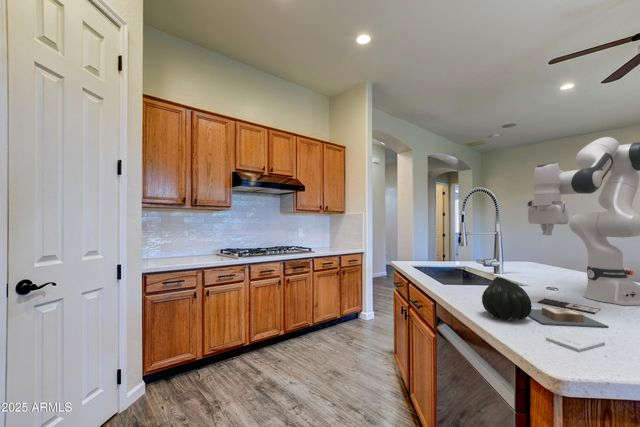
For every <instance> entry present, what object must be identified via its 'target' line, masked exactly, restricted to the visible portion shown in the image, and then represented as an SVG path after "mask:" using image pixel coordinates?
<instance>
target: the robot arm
mask: <svg viewBox="0 0 640 427" xmlns="http://www.w3.org/2000/svg"><path fill="white" fill-rule="evenodd" d="M575 163H576V164H577V166H578V167H579V169H574V170H567V171H566V170H565V171H564V170H562V169H560V165H559V163H558V162H549V163H544V164H539V165H537V166H536V167H535V168H534V171H533V187H534V191H533V198H531V199H530V200H529V201H527V203H526V206H527V220H528V223H529V224H533V225H538V224H539V226H540V228H541V232H542V235H543V236H552V234H553V233H552V232H553V230H554V227H555V225H568V226H569V228H570V230H571V232H573V234H576V235H577V236H578V237H579V238H580V239H581V241H583V244H584V245H585V247H586V250H587V260H588V262H587V264H588V265H587V267H586V276H587V283H586V288H585V291H584V295H583V297H584V298H586V299H590V300H593V301H598V302H603V303H609V304H615V305H618V306H619V305H620V306H640V284H638V283H636V282H634V281H633V280H631V279H630V278H629V276H633V275H635V271H634V270H629V269H628V270H625V269H624V261H623V260H624V254H623V252H622V250H621V249H620V247H617V246H615V245H612V244H611V243H610V242H609V241H608V239H607V237H608V238H622V239H623V238H633V237H634V238H635V237H639V236H640V214H639V213H637V212H636V211H635V210H634V208H633V202H634V200H635V196H636V194H637V192H638V191H637V190H638V187H639V185H640V184H639V183H640V173H639V172H638V171H640V142H639V141H638V142H633V143H625V144H620V143H619V141H618V140H617V139H616V138H614V137H612V136H603V137H599V138H597V139H595V140H593V141H591V142H590V143H588V144H587V145H585V146H584V147H583V148H582V149H581V150H579V151H578V153H577V154H576V155H575ZM580 168H581V169H580ZM609 172H610V175H609V176H608V177H607V179H606V181H605V182H604V184H603V180H604V179H605V177H606V176H607V174H608V173H609ZM602 184H603V186H602ZM601 186H602V189H601V190H600V193H599V196H598V198H597V202H598V204H599V206H600V207H602V208H603V209H606V211H603V212H601V211H598V212H596V211H595V212H583V213H578V214H574V215H573V216H572V217H570V219H569V211H568V207H567V206H566V203H565V202H564V201H563V200H561V198H562V197H561V196H562V195H563V196H564V195H573V194H574V195H576V194H587V195H588V194H590V195H591V194H594V193H595V192H596V191H598V189H600V188H601ZM568 223H569V224H568Z"/></svg>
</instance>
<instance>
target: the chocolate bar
mask: <svg viewBox="0 0 640 427" xmlns="http://www.w3.org/2000/svg"><path fill="white" fill-rule="evenodd" d="M537 304H541V305H547V306H550V307H551V306H552V307H554V308H565V309H571V310H573V311H575V312H579V313H580V312H581V313H586V314H589V315H590V314H592V315H596V314H597V313H598V312H600V311H601V308H597V307H592V306H587V305H581V304H577V303H570V302H567V301H562V300H561V301H559V300H555V299H550V298H543V299H540V300H538V301H537Z"/></svg>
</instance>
